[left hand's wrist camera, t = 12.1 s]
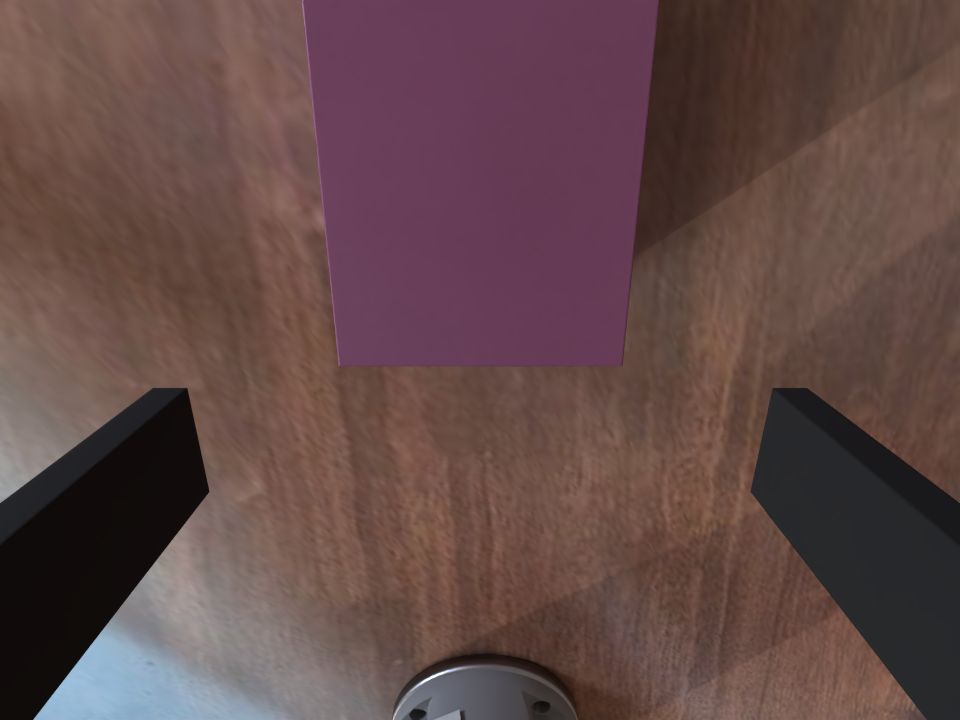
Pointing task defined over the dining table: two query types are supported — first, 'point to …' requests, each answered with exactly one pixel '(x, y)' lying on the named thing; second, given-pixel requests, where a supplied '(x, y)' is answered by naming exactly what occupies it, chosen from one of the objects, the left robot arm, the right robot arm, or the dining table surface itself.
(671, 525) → the dining table surface
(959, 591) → the left robot arm
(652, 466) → the dining table surface
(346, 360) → the cabinet
